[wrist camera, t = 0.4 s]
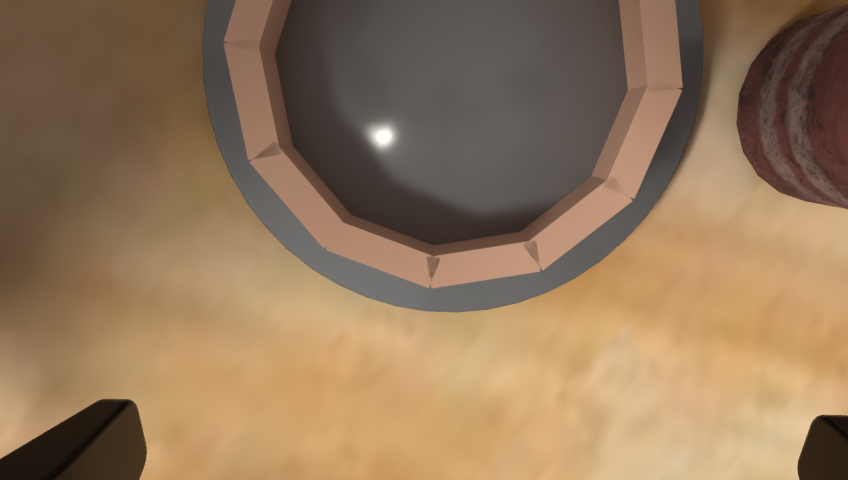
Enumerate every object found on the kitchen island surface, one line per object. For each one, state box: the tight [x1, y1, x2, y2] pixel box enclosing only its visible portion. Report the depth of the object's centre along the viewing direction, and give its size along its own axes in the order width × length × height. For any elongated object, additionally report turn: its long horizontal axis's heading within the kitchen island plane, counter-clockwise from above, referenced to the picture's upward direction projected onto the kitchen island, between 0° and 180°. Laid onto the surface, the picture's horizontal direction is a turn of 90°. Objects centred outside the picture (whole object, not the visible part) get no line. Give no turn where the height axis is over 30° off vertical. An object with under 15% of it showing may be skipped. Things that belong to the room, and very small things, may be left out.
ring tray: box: [203, 0, 703, 312], centre depth 19 cm, size 16×16×3 cm
